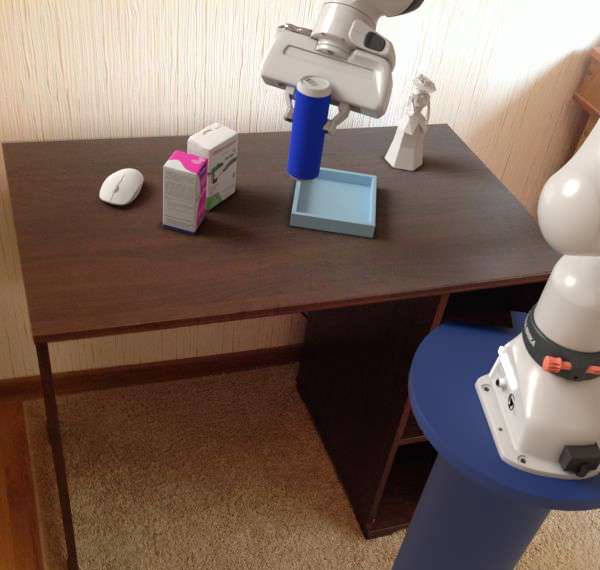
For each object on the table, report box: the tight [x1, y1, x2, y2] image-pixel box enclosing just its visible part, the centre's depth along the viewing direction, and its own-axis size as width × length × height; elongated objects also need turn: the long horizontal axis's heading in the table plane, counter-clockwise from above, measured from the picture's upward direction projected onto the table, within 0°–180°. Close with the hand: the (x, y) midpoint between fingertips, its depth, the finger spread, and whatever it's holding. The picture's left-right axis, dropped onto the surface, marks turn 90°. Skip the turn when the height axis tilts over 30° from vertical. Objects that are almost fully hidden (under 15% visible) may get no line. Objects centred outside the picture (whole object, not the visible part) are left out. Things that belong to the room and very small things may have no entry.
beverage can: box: [286, 75, 332, 182], centre depth 114 cm, size 5×5×15 cm
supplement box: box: [162, 149, 208, 235], centre depth 124 cm, size 6×6×12 cm
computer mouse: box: [98, 167, 145, 207], centre depth 130 cm, size 6×10×3 cm, turn 164°
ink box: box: [186, 122, 239, 212], centre depth 130 cm, size 9×5×12 cm, turn 149°
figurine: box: [384, 72, 437, 172], centre depth 144 cm, size 7×8×18 cm
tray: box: [289, 166, 378, 239], centre depth 136 cm, size 17×15×2 cm
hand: (308, 127), depth 113 cm, fingers closed on beverage can, 5 cm apart
